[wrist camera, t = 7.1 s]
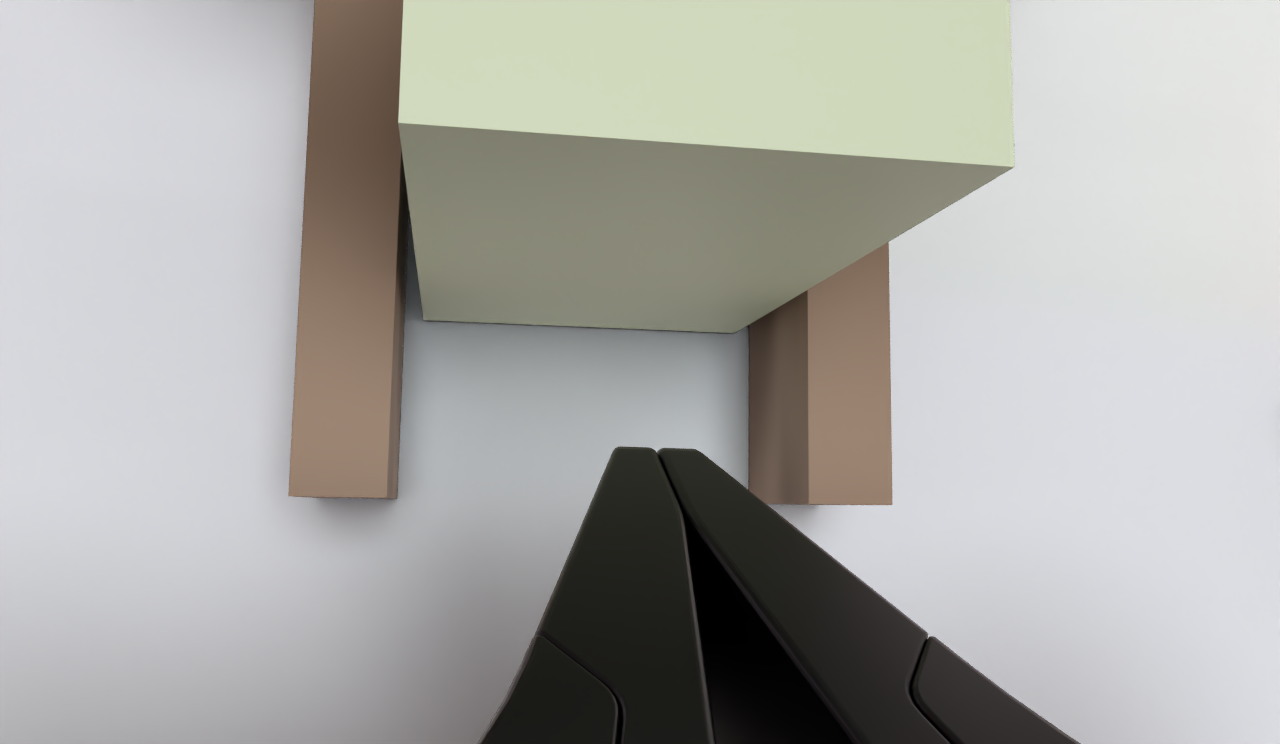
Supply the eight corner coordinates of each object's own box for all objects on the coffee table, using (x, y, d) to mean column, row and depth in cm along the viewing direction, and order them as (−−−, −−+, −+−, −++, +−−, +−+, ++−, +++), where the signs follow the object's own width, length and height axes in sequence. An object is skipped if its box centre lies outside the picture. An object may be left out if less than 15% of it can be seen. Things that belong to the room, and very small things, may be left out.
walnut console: (933, 506, 18) (1492, 508, 9) (177, 495, 16) (-230, 481, 6) (921, -151, 20) (1385, -792, 10) (225, -237, 18) (-49, -1149, 8)
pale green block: (734, 333, 18) (1013, 166, 9) (423, 320, 17) (397, 123, 8) (735, 40, 18) (997, -380, 10) (434, 14, 18) (423, -475, 9)
